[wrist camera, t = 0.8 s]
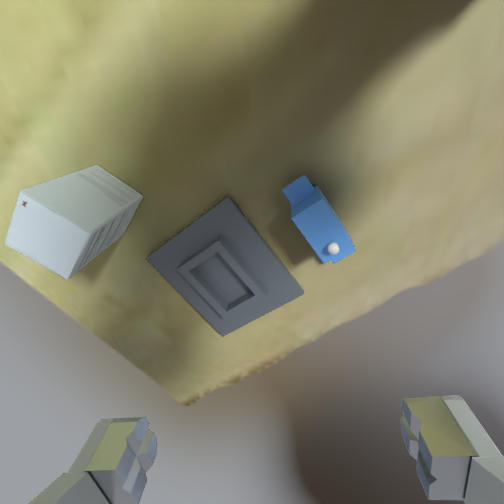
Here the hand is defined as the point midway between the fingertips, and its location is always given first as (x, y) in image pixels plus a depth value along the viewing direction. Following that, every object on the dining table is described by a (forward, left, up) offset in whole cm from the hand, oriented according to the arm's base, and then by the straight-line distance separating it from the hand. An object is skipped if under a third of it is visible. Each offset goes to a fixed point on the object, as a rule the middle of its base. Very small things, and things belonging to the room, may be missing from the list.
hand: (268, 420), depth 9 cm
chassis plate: (+14, +6, -31) cm, 34 cm away
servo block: (-2, +6, -31) cm, 31 cm away
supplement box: (+20, -12, -31) cm, 39 cm away
